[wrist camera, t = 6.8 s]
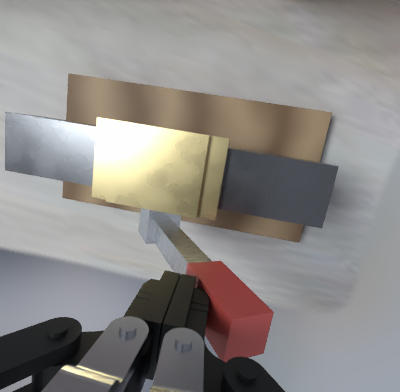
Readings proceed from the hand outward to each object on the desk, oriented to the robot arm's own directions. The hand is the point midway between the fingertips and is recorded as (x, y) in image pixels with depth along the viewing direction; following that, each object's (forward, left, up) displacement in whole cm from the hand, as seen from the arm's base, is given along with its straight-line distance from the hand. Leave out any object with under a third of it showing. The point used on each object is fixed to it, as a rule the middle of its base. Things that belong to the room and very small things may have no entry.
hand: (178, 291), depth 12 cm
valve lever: (-3, -2, -9) cm, 10 cm away
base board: (-5, +1, -18) cm, 19 cm away
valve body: (-5, +1, -16) cm, 17 cm away
